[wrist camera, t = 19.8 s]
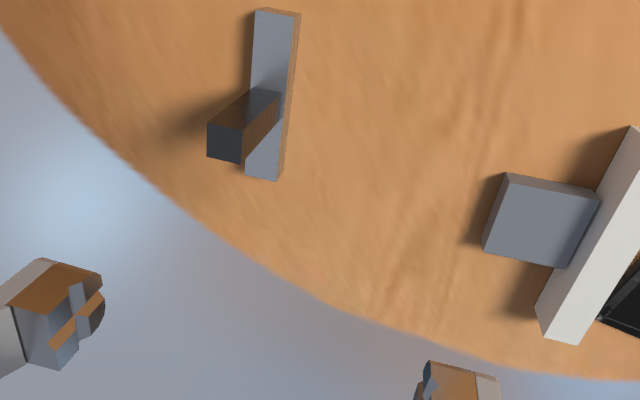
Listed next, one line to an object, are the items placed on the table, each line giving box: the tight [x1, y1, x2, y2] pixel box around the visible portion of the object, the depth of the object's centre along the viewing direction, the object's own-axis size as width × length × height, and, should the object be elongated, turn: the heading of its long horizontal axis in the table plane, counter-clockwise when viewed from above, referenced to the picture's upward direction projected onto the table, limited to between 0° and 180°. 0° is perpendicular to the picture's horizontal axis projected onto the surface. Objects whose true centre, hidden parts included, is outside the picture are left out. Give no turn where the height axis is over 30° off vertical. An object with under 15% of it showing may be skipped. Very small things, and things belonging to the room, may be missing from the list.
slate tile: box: [481, 172, 600, 270], centre depth 38 cm, size 7×7×2 cm
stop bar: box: [534, 125, 640, 346], centre depth 37 cm, size 19×3×4 cm, turn 172°
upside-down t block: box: [206, 7, 302, 182], centre depth 34 cm, size 14×3×12 cm, turn 172°
